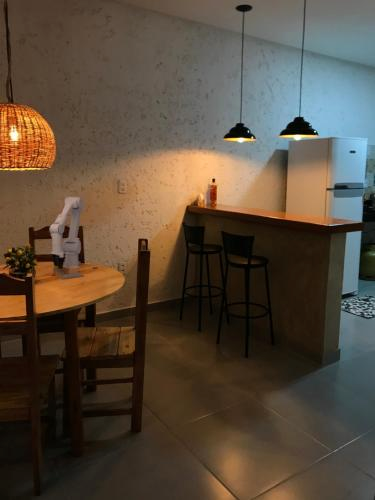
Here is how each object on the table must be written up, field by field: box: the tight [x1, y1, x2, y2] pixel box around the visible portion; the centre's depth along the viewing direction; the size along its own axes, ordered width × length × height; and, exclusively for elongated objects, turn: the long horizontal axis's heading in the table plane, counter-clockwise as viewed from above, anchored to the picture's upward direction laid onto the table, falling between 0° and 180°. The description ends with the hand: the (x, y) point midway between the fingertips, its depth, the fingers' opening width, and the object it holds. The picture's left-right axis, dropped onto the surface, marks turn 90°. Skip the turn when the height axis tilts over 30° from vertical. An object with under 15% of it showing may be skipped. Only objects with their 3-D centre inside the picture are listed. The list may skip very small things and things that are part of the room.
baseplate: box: [58, 272, 84, 280], centre depth 234 cm, size 7×12×1 cm, turn 125°
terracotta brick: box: [67, 266, 79, 274], centre depth 241 cm, size 5×5×4 cm
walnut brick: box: [52, 266, 65, 276], centre depth 240 cm, size 5×5×4 cm
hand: (58, 267), depth 239 cm, fingers open, 7 cm apart
